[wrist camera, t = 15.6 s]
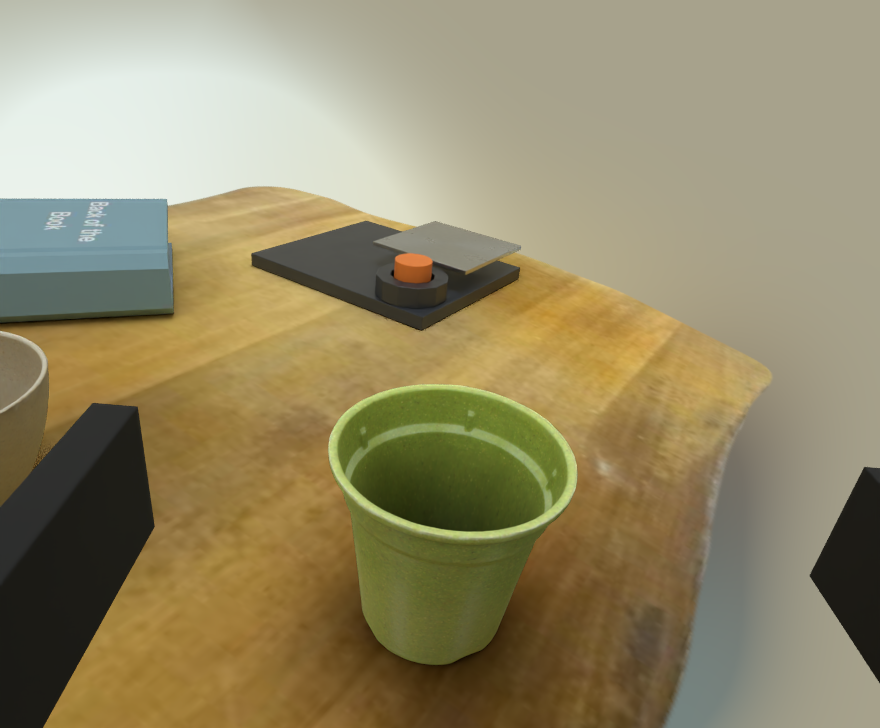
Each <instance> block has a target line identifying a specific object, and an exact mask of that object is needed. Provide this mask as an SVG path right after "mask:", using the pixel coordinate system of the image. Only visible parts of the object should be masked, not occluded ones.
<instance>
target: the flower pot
mask: <svg viewBox="0 0 880 728" xmlns="http://www.w3.org/2000/svg"><path fill="white" fill-rule="evenodd" d="M48 397H49V373H48V361H47V358H46V356H45V354H44V352H43V351H42V349H41V348H40V347H39V346H37V345H36V344H35V343H33V342H31V341H30V340H28V339H26V338H23V337H21V336H18V335H15V334H11V333H8V332H3V331H0V507H1V506H2V505H3V503H4V502H5V501H6V500H7V499H8V498H9V497H10V496H11V494H12V493H13V492H14V491H15V490H16V489H17V488H18V487H19V485H20V484H21V483H22V482H23V481H24V480H25V479H26V478H27V476H28V475H29V474H30V473H31V470H32V468H33V466H34V463H35V460H36V458H37V455H38V452H39V449H40V445H41V442H42V438H43V434H44V429H45V423H46V417H47V409H48Z"/></svg>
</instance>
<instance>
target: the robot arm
mask: <svg viewBox="0 0 880 728" xmlns="http://www.w3.org/2000/svg"><path fill="white" fill-rule="evenodd" d="M154 527H155V526H154V519H153V512H152V505H151V498H150V491H149V484H148V477H147V470H146V463H145V456H144V448H143V441H142V434H141V427H140V420H139V413H138V407H135V406H123V405H111V404H99V403H92V405H91V406H90V407H89V408H88V409H87V410H86V411H85V412H84V414H83V415H82V416H81V417H80V418H79V419H78V420H77V421H76V422H75V424H74V425H73V426H72V427H71V428H70V429H69V430H68V431H67V433H66V434H65V435H64V436H63V437H62V438H61V439H60V440H59V442H58V443H57V444H56V445H55V446H54V447H53V448H52V449H51V451H50V452H49V453H48V454H47V455H46V456H45V457H44V458H43V460H42V461H41V462H40V463H39V464H38V465H37V466H36V467H35V469H34V470H33V471H32V472H31V473H30V474H29V475H28V476H27V478H26V479H25V480H24V481H23V482H22V483H21V484H20V485H19V487H18V488H17V489H16V490H15V491H14V492H13V493H12V494H11V496H10V497H9V498H8V499H7V500H6V501H5V502H4V503H3V505H2V506H1V507H0V728H43V726H44V725H45V723H46V721H47V719H48V717H49V716H50V714H51V712H52V710H53V708H54V707H55V705H56V703H57V701H58V699H59V698H60V696H61V694H62V692H63V690H64V689H65V687H66V685H67V683H68V681H69V680H70V678H71V676H72V674H73V672H74V671H75V669H76V667H77V665H78V664H79V662H80V660H81V658H82V656H83V655H84V653H85V651H86V649H87V647H88V646H89V644H90V642H91V640H92V638H93V637H94V635H95V633H96V631H97V629H98V628H99V626H100V624H101V622H102V620H103V619H104V617H105V615H106V613H107V611H108V610H109V608H110V606H111V604H112V602H113V601H114V599H115V597H116V595H117V593H118V592H119V590H120V588H121V586H122V584H123V583H124V581H125V579H126V577H127V575H128V574H129V572H130V570H131V568H132V566H133V565H134V563H135V561H136V559H137V557H138V556H139V554H140V552H141V550H142V548H143V547H144V545H145V543H146V541H147V539H148V538H149V536H150V534H151V532H152V530H153V529H154ZM810 577H811V579H812V580H813V582H814V583H815V585H816V586H817V588H818V589H819V591H820V593H821V594H822V596H823V597H824V598H825V600H826V602H827V603H828V605H829V606H830V608H831V609H832V611H833V612H834V614H835V615H836V617H837V618H838V620H839V622H840V623H841V625H842V626H843V628H844V629H845V630H846V632H847V634H848V635H849V637H850V638H851V640H852V641H853V643H854V645H855V646H856V647H857V649H858V650H859V652H860V654H861V655H862V657H863V658H864V660H865V661H866V663H867V664H868V666H869V667H870V669H871V671H872V672H873V674H874V675H875V677H876V678H877V679H878V681H879V683H880V468H870V467H864V469H863V471H862V473H861V475H860V477H859V479H858V481H857V483H856V485H855V487H854V489H853V491H852V492H851V495H850V496H849V499H848V500H847V502H846V504H845V506H844V508H843V511H842V513H841V514H840V516H839V518H838V520H837V522H836V524H835V526H834V528H833V530H832V532H831V534H830V536H829V538H828V540H827V542H826V544H825V546H824V548H823V550H822V552H821V554H820V556H819V558H818V560H817V562H816V564H815V566H814V568H813V570H812V572H811V574H810Z"/></svg>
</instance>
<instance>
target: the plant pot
mask: <svg viewBox="0 0 880 728" xmlns="http://www.w3.org/2000/svg"><path fill="white" fill-rule="evenodd" d="M328 453H329V463H330V467H331V471H332V474H333V476H334V478H335V480H336V482H337V484H338V486H339V487H340V489H341V490H342V491H343V494H344V498H345V501H346V504H347V506H348V508H349V510H350V512H351V520H352V528H353V536H354V544H355V552H356V560H357V568H358V577H359V586H360V595H361V603H362V611H363V614H364V617H365V619H366V621H367V623H368V625H369V626H370V628H371V630H372V632H373V633H374V635H375V637H376V639H377V640H378V641H379V642H380V643H381V644H382V645H383V646H384V647H385V648H387V649H388V650H389V651H391V652H392V653H394V654H396V655H398V656H400V657H402V658H404V659H407V660H409V661H413V662H417V663H422V664H429V665H444V664H450V663H453V662H455V661H457V660H459V659H460V658H462V657H465V656H467V655H470V654H472V653H475V652H477V651H481V650H482V649H483V648H485V647H486V646H487V645H488V644H489V643H490V641H491V640H492V638H493V637H494V635H495V633H496V632H497V629H498V627H499V624H500V622H501V620H502V618H503V616H504V613H505V611H506V608H507V606H508V603H509V601H510V598H511V596H512V593H513V591H514V589H515V586H516V584H517V582H518V579H519V577H520V575H521V572H522V570H523V568H524V566H525V563H526V561H527V559H528V557H529V554H530V552H531V550H532V548H533V545H534V543H535V541H536V539H538V538H539V537H540V535H541V534H542V533H543V532H544V531H545V529H546V528H547V526H548V525H549V524H550V523H552V522H553V521H555V520H556V519H557V518H558V517H559V516H560V515H561V514H562V513H563V512H564V510H565V509H566V508H567V506H568V505H569V503H570V501H571V499H572V497H573V494H574V491H575V488H576V484H577V465H576V460H575V457H574V455H573V452H572V450H571V449H570V447H569V445H568V443H567V442H566V440H565V439H564V437H563V436H562V435H561V434H560V433H559V431H558V430H556V429H555V428H554V427H553V425H552V424H551V423H550V422H548V421H547V420H546V419H544V418H543V417H542V416H540V415H539V414H538V413H536V412H534V411H533V410H531V409H529V408H527V407H526V406H524V405H521V404H519V403H518V402H515V401H513V400H511V399H508V398H505V397H504V396H500V395H498V394H495V393H492V392H488V391H485V390H480V389H476V388H471V387H466V386H459V385H445V384H422V385H413V386H405V387H399V388H394V389H391V390H387V391H384V392H381V393H378V394H375V395H373V396H371V397H368V398H366V399H364V400H362V401H360V402H359V403H357V404H356V405H354V406H353V407H352V408H350V409H349V410H348V411H346V412H345V413H344V414H343V415H342V416H341V418H340V419H339V420H338V422H337V423H336V425H335V427H334V428H333V430H332V433H331V435H330V439H329V446H328Z"/></svg>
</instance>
